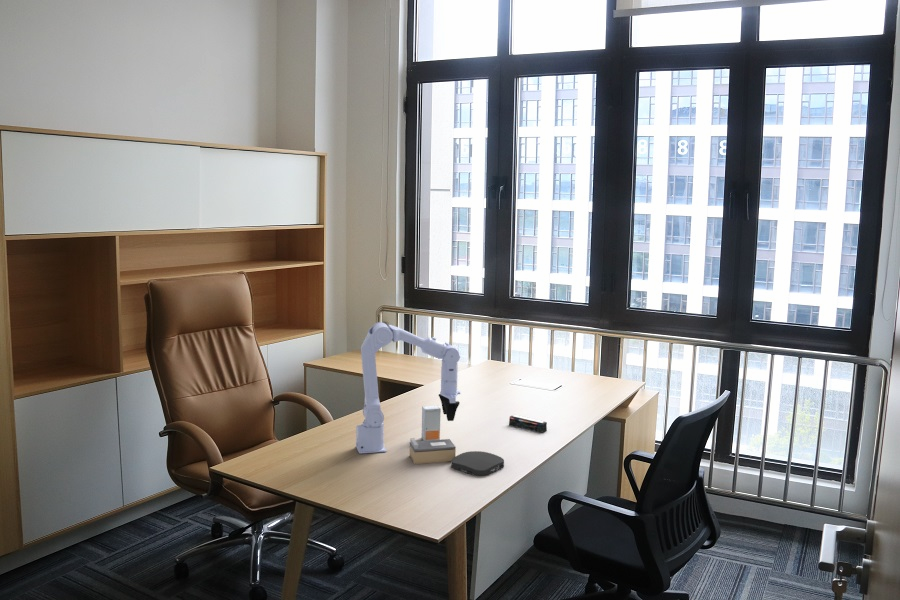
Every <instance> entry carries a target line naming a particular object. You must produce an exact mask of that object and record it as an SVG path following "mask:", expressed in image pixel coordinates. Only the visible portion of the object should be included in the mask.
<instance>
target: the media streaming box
mask: <svg viewBox="0 0 900 600" xmlns="http://www.w3.org/2000/svg"><path fill="white" fill-rule="evenodd" d="M450 464H451V466H450V467H451V468H452V469H454V470H457V471H460V472H462V473H465V474H469V475H471V476H477V477H485V476H488V475H491V474H493V473H495V472H498V471H500V470H501V469H503V468H504V467H505V459H504V458H503V457H501V456H499V455H497V454H494V453H491V452H487V451H480V450H479V451H476V450H475V451H466V452H462V453H460V454H459V453H458V455H455V457H454V458H453V459H452V461H450Z"/></svg>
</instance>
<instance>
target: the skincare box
mask: <svg viewBox="0 0 900 600" xmlns="http://www.w3.org/2000/svg"><path fill="white" fill-rule="evenodd" d="M421 439H422V441H429V440H441V407H440V406H439V405H425V406H424V405H423V406H421Z"/></svg>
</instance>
